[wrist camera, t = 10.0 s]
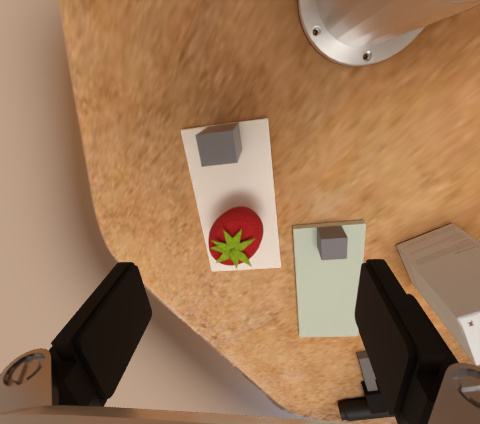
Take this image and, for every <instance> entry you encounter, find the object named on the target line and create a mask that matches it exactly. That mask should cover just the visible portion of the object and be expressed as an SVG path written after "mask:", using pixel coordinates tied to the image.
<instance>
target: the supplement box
mask: <svg viewBox="0 0 480 424" xmlns="http://www.w3.org/2000/svg"><path fill="white" fill-rule="evenodd" d="M396 247H397V249H398V252H399V254H400V256H401V259H402V261H403V263H404V266H405V268H406V271H407V273H408V276H409V278H410V280H411V283H412V284H413V285H414V286H415V288H416V289H417V290H418V291H419V293H420V294H421V295H422V297H423V298H424V299H425V301H426V302H427V303H428V304H429V306H430V307H431V308H432V310H433V311H434V312H435V313H436V315H437V316H438V317H439V319H440V320H441V321H442V323H443V324H444V325H445V326H446V328H447V329H448V330H449V332H450V333H451V334H452V335H453V337H454V338H455V339H456V341H457V342H458V343H459V344H460V346H461V347H462V348H463V350H464V351H465V352H466V353H467V355H468V356H469V357H470V359H471V360H472V361H473V362H474V363H475V365H480V242H479V241H478V240H477V239H475V238H474V237H472V236H471V235H469V234H468V233H466V232H465V231H463V230H462V229H461V228H459V227H458V226H456V225H455V224H453V223H451V224H449V225H446V226H444V227H441V228H439V229H436V230H434V231H431V232H429V233H426V234H423V235H421V236H418V237H416V238H413V239H411V240H408V241H406V242H403V243H400V244H398V245H396Z"/></svg>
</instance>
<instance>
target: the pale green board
mask: <svg viewBox="0 0 480 424" xmlns="http://www.w3.org/2000/svg"><path fill="white" fill-rule="evenodd" d="M365 229H366V223H365V222H364V220H356V221H344V222H331V223H318V224H305V225H293V242H294V259H295V275H296V292H297V309H298V325H299V336H300V337H342V336H358V327H357V324H356V321H355V306H356V299H357V292H358V285H359V277H360V270H361V265H362V263H363V258H364V244H365Z"/></svg>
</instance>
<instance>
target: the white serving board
mask: <svg viewBox="0 0 480 424" xmlns="http://www.w3.org/2000/svg"><path fill="white" fill-rule="evenodd" d="M181 135H182V139H183V144H184V148H185V153H186V157H187V162H188V166H189V171H190V175H191V180H192V184H193V189H194V193H195V198H196V202H197V207H198V211H199V216H200V220H201V225H202V229H203V234H204V238H205V243H206V247H207V252H208V256H209V261H210V266H211V270H212V272H213V271H230V270H247V269H265V268H281V262H280V250H279V239H278V227H277V216H276V204H275V193H274V181H273V170H272V158H271V147H270V135H269V124H268V118H262V119H254V120H247V121H239V122H232V123H225V124H217V125H210V126H202V127H195V128H187V129H182V130H181ZM238 206H244V207H248V208H250V209H252V210H253V211H254V212H255V213H256V214H257V215H258V216H259V217H260V219H261V221H262V223H263V228H264V229H263V237H262V241H261V244H260V246H259V248H258V250H257V251H256V253H255V254H254V255H253V256H252V257H251V258H250V259H249V262H250V264H251V265H252V266H249V265H247V264H246V263H241V264H238V266H237V268H236V267H235V265H233V266H229V265H223V264H221V263H219V262H218V263H216V262H217V261H216V260H215V259H214V258H213V257H212V255H211V253H210V251H209V244H208V238H209V232H210V229H211V227H212V225H213V223H214V222H215V221H216V219H217V218H218V217H219V216H221V215H222V214H223V213H224V212H226V211H227V210H229V209H231V208H234V207H238Z"/></svg>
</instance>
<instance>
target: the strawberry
mask: <svg viewBox="0 0 480 424" xmlns="http://www.w3.org/2000/svg"><path fill="white" fill-rule="evenodd" d="M263 229H264V228H263V223H262V221H261V219H260V217H259V216H258V215H257V214H256V213H255V212H254V211H253V210H252V209H250V208H248V207H244V206H238V207H234V208H231V209H229V210H227V211H226V212H224V213H223V214H222V215H221V216H219V217H218V218H217V219H216V221H215V222H214V223H213V225H212V227H211V229H210V232H209V238H208V244H209V251H210V253H211V255H212V257H213V258H214V259H215V260H216V261H217V262H216V263H218V262H219V263H221V264H223V265H229V266H233V265H235V267H236V268H237V266H238V264H241V263H246V264H247V265H249V266H252V265H251V264H250V262H249V259H250V258H251V257H252V256H253V255H254V254H255V253H256V251H257V250H258V248H259V246H260V244H261V241H262V237H263Z"/></svg>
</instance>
